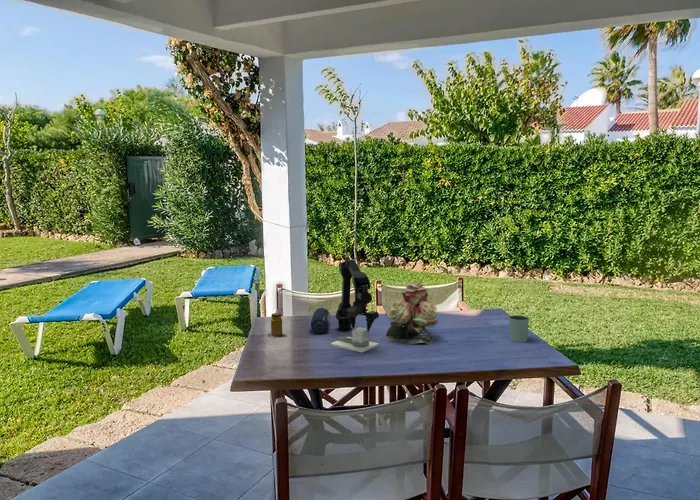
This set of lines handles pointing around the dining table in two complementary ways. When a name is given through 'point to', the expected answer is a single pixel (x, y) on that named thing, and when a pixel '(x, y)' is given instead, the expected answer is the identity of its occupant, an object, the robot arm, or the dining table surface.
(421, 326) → the rose bouquet
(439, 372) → the dining table surface
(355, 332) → the brushed grey cube
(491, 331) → the dining table surface
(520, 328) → the green cup
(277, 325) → the condiment
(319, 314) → the portable speaker
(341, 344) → the board
